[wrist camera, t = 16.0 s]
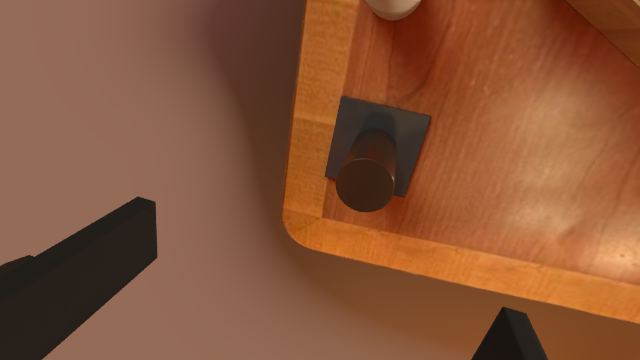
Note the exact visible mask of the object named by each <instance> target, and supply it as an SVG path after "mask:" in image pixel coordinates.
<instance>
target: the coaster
mask: <svg viewBox="0 0 640 360" xmlns="http://www.w3.org/2000/svg"><path fill="white" fill-rule="evenodd" d="M430 119H431V116H429V115H425V114H420V113H416V112H412V111H407V110H403V109H399V108H394V107H390V106H385V105H381V104H377V103H372V102H368V101H364V100H359V99H355V98H350V97H346V96H341V100H340V105H339V110H338V115H337V119H336V124H335V129H334V134H333V139H332V143H331V148H330V153H329V158H328V163H327V167H326V172H325V177H329V178H333V179H336V178H337V175H338V173H339V171H340V169H341V167H342V165H343V163H344V161H345V159H346V157H347V155H348V153H349V151H350V149H351V147H352V144H353V142H354V140H355V139H356V137H357V136H358V135H359V134H360V133H361V132H363V131H365V130H367V129H371V128H378V129H382V130H384V131H386V132H388V133H389V134H390V135H391V136H392V137H393V139H394V141H395V144H396V168H395V189H394V194H393V195H397V196H400V197H405V194H406V191H407V188H408V185H409V182H410V179H411V176H412V173H413V170H414V167H415V164H416V161H417V158H418V155H419V152H420V149H421V146H422V143H423V140H424V137H425V134H426V131H427V128H428V125H429V122H430Z"/></svg>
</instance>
